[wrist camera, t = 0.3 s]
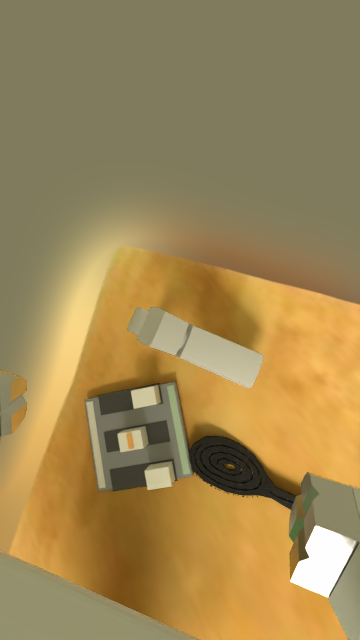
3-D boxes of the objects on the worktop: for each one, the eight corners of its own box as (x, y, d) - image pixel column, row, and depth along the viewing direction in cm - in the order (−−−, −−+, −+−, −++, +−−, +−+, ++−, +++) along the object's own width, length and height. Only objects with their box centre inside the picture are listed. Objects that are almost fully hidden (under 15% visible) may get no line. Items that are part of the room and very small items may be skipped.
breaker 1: (161, 402, 60) (156, 404, 57) (139, 406, 61) (133, 408, 57) (158, 385, 61) (153, 386, 57) (136, 389, 61) (130, 390, 58)
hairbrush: (325, 552, 53) (179, 474, 56) (318, 540, 57) (181, 467, 60) (347, 502, 53) (200, 427, 57) (338, 493, 57) (201, 423, 61)
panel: (194, 475, 60) (193, 478, 58) (101, 490, 62) (98, 493, 60) (175, 379, 62) (174, 380, 61) (87, 397, 64) (84, 398, 63)
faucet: (251, 390, 55) (146, 349, 46) (200, 365, 70) (111, 329, 60) (265, 354, 56) (164, 306, 46) (211, 336, 70) (126, 296, 61)
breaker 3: (175, 479, 58) (171, 486, 55) (152, 482, 59) (147, 490, 55) (171, 461, 59) (168, 467, 55) (149, 464, 59) (144, 470, 56)
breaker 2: (148, 443, 60) (143, 448, 56) (126, 447, 60) (119, 452, 57) (145, 426, 60) (139, 429, 57) (123, 430, 61) (116, 434, 57)
